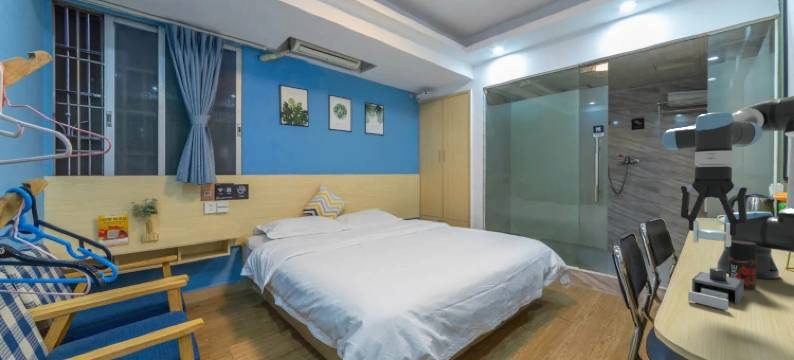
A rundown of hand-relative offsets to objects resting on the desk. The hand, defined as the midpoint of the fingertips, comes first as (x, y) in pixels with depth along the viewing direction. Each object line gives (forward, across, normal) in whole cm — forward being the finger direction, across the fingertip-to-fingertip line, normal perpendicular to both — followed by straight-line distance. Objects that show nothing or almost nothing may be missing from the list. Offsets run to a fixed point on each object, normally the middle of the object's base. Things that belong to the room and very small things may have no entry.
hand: (711, 243), depth 88 cm
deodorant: (+18, +4, +24) cm, 30 cm away
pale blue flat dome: (-2, 0, 0) cm, 2 cm away
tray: (+17, 0, +1) cm, 18 cm away
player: (+17, 0, +9) cm, 20 cm away
